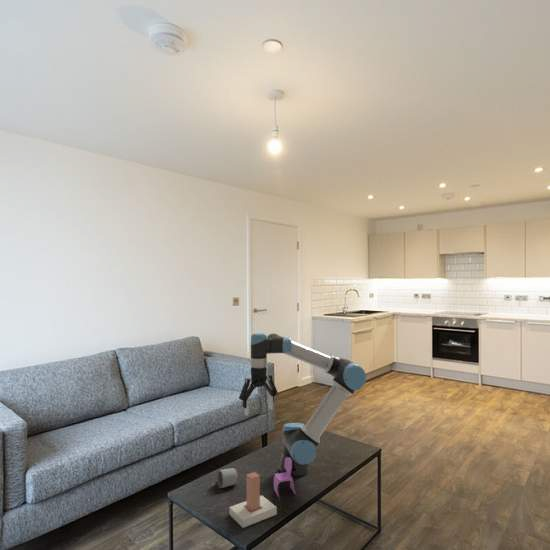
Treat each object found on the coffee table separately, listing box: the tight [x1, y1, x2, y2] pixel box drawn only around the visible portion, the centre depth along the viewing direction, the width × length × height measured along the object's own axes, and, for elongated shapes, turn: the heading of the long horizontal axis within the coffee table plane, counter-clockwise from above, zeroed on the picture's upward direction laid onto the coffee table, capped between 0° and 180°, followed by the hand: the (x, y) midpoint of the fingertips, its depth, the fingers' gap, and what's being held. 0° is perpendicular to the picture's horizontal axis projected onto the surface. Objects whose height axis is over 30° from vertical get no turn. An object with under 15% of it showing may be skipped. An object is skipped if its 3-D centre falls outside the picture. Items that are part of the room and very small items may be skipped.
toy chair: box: [273, 457, 297, 498], centre depth 181 cm, size 8×9×15 cm
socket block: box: [228, 495, 278, 529], centre depth 163 cm, size 16×11×3 cm
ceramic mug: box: [216, 467, 239, 489], centre depth 189 cm, size 11×8×8 cm
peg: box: [245, 471, 261, 513], centre depth 163 cm, size 4×4×16 cm
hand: (258, 412), depth 187 cm, fingers open, 13 cm apart
